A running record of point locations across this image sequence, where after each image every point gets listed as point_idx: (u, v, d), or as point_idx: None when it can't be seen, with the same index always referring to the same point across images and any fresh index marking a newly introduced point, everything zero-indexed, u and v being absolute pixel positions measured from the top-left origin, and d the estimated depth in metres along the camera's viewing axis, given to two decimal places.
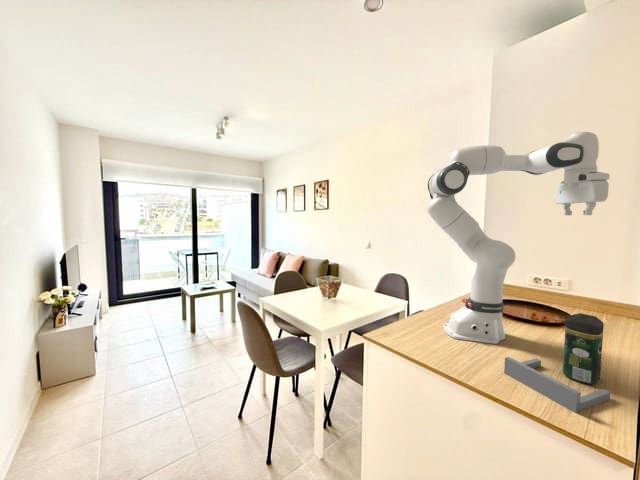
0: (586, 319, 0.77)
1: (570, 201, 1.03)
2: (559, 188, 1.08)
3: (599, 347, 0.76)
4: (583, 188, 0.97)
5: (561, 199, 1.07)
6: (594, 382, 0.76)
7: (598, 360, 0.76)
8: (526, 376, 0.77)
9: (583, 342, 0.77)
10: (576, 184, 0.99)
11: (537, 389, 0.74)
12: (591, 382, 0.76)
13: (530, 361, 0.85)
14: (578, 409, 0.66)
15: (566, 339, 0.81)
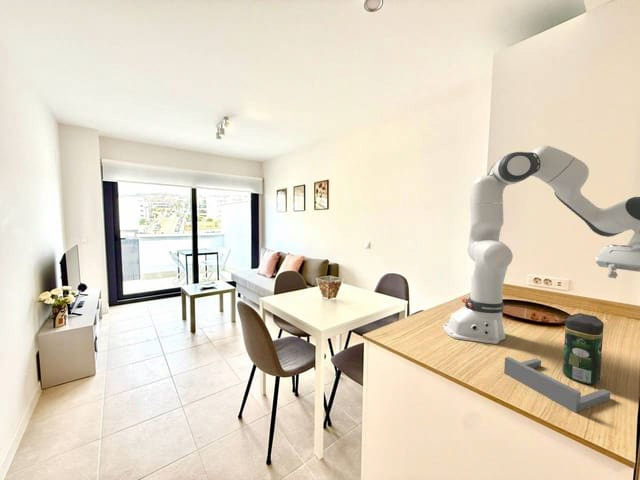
0: (586, 319, 0.77)
1: (628, 262, 0.87)
2: (610, 248, 0.94)
3: (599, 347, 0.76)
4: None
5: (611, 258, 0.91)
6: (594, 382, 0.76)
7: (598, 360, 0.76)
8: (526, 376, 0.77)
9: (583, 342, 0.77)
10: None
11: (537, 389, 0.74)
12: (591, 382, 0.76)
13: (530, 361, 0.85)
14: (578, 409, 0.66)
15: (566, 339, 0.81)
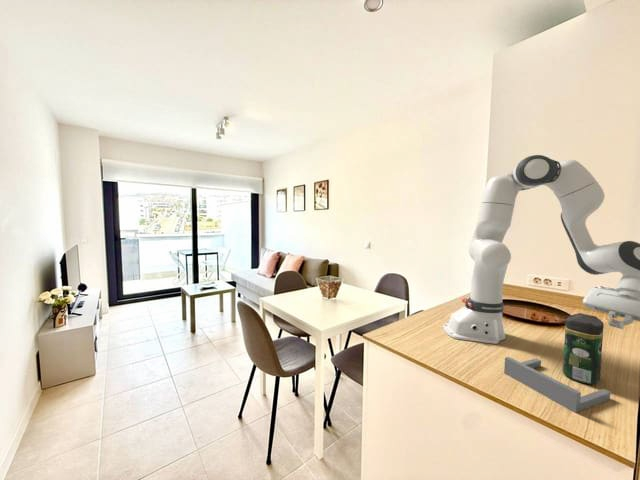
0: (586, 319, 0.77)
1: (615, 308, 0.86)
2: (598, 290, 0.93)
3: (599, 347, 0.76)
4: None
5: (599, 302, 0.91)
6: (594, 382, 0.76)
7: (598, 360, 0.76)
8: (526, 376, 0.77)
9: (583, 342, 0.77)
10: (638, 295, 0.84)
11: (537, 389, 0.74)
12: (591, 382, 0.76)
13: (530, 361, 0.85)
14: (578, 409, 0.66)
15: (566, 339, 0.81)
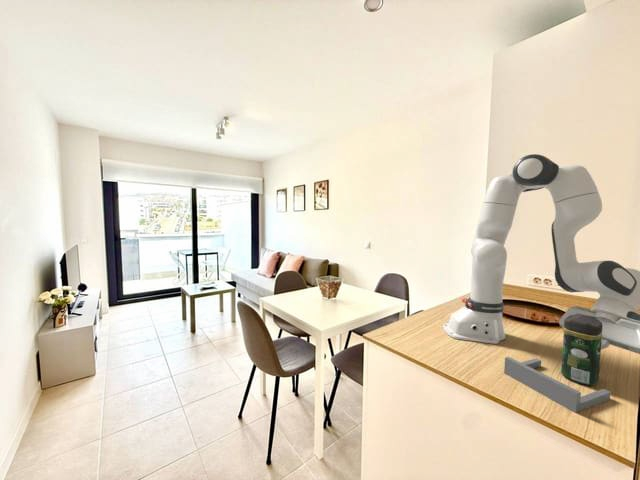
0: (584, 320, 0.76)
1: None
2: (575, 311, 0.90)
3: (598, 348, 0.75)
4: (622, 328, 0.78)
5: None
6: (593, 383, 0.75)
7: (597, 361, 0.75)
8: (526, 376, 0.77)
9: (581, 343, 0.76)
10: (614, 318, 0.81)
11: (537, 389, 0.74)
12: (590, 383, 0.75)
13: (530, 361, 0.85)
14: (578, 409, 0.66)
15: (565, 340, 0.80)
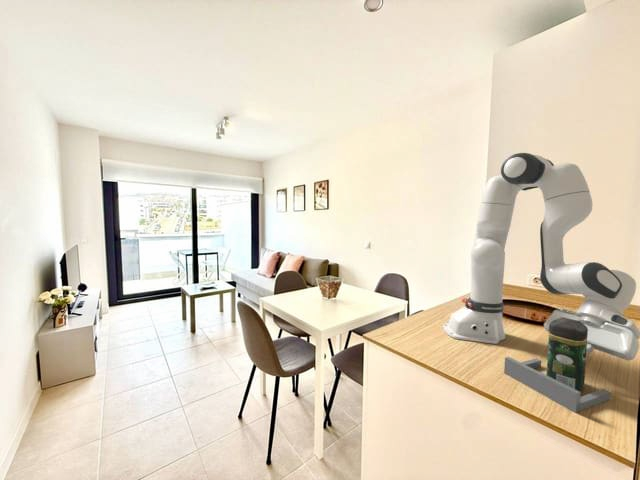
0: (569, 325, 0.73)
1: None
2: (560, 314, 0.87)
3: (583, 354, 0.72)
4: (607, 332, 0.76)
5: None
6: (578, 390, 0.72)
7: (583, 368, 0.72)
8: (526, 376, 0.77)
9: (566, 349, 0.73)
10: (598, 322, 0.78)
11: (537, 389, 0.74)
12: None
13: (530, 361, 0.85)
14: (578, 409, 0.66)
15: (550, 345, 0.77)
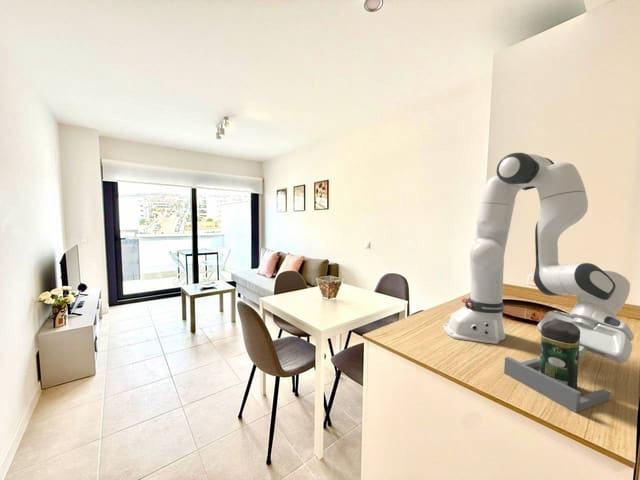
0: (562, 327, 0.72)
1: None
2: (553, 315, 0.86)
3: (575, 356, 0.71)
4: (600, 334, 0.75)
5: None
6: None
7: (575, 370, 0.71)
8: (526, 376, 0.77)
9: (558, 351, 0.72)
10: (591, 324, 0.77)
11: (537, 389, 0.74)
12: None
13: (530, 361, 0.85)
14: (578, 409, 0.66)
15: (542, 347, 0.76)
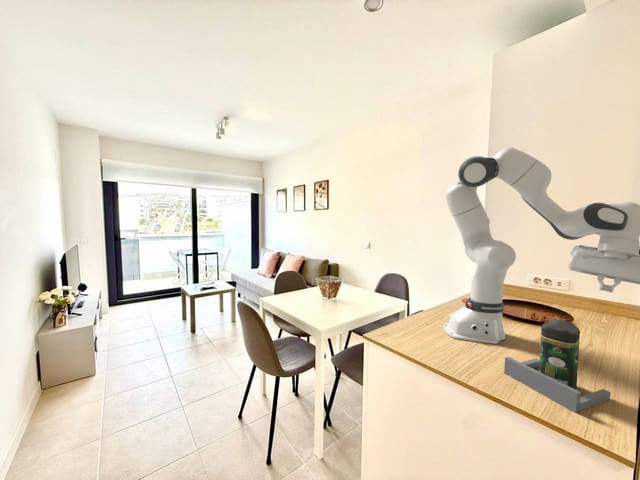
0: (562, 326, 0.72)
1: (605, 272, 0.86)
2: (583, 252, 0.91)
3: (575, 356, 0.71)
4: (634, 265, 0.82)
5: (586, 266, 0.89)
6: None
7: (575, 370, 0.71)
8: (526, 376, 0.77)
9: (559, 351, 0.72)
10: (625, 257, 0.84)
11: (537, 389, 0.74)
12: None
13: (530, 361, 0.85)
14: (578, 409, 0.66)
15: (542, 347, 0.76)
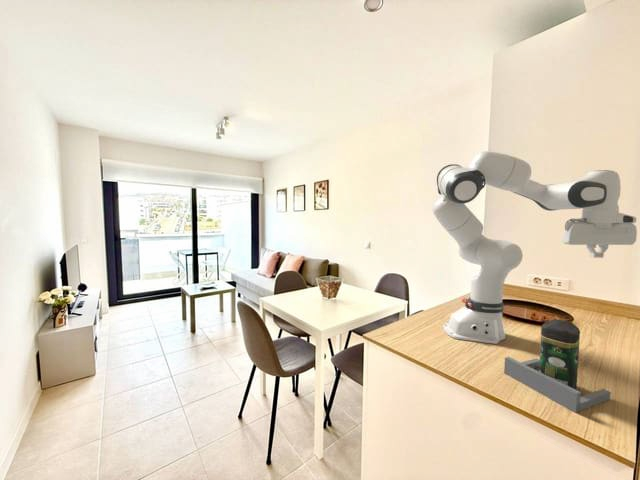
0: (562, 326, 0.72)
1: (598, 243, 0.93)
2: (578, 227, 0.93)
3: (575, 356, 0.71)
4: (617, 230, 0.92)
5: (583, 240, 0.93)
6: None
7: (575, 370, 0.71)
8: (526, 376, 0.77)
9: (559, 351, 0.72)
10: (611, 225, 0.91)
11: (537, 389, 0.74)
12: None
13: (530, 361, 0.85)
14: (578, 409, 0.66)
15: (542, 347, 0.76)
